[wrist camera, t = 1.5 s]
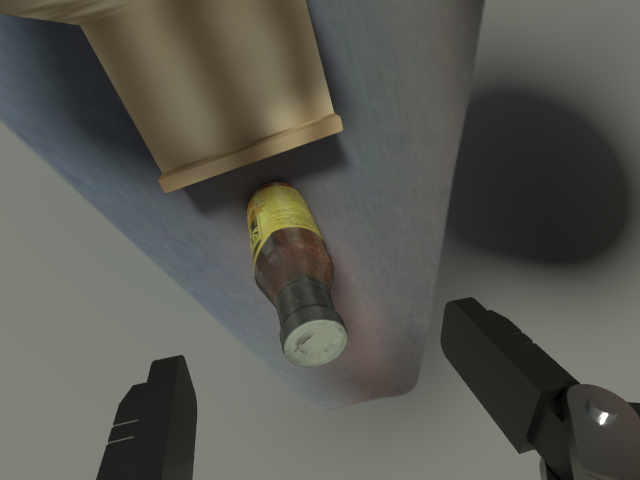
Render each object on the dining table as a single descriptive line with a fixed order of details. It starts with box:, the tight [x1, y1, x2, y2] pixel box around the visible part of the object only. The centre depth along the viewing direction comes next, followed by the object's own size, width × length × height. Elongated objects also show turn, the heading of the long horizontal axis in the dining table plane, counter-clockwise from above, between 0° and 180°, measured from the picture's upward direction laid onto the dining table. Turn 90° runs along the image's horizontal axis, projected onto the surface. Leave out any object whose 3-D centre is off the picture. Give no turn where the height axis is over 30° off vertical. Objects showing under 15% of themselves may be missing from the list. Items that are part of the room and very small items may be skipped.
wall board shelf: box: [0, 0, 343, 193], centre depth 25 cm, size 16×15×13 cm
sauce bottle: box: [247, 182, 348, 367], centre depth 29 cm, size 6×6×20 cm
